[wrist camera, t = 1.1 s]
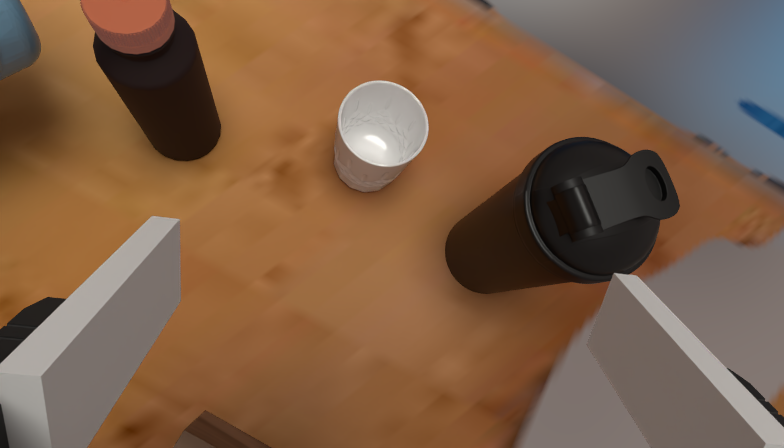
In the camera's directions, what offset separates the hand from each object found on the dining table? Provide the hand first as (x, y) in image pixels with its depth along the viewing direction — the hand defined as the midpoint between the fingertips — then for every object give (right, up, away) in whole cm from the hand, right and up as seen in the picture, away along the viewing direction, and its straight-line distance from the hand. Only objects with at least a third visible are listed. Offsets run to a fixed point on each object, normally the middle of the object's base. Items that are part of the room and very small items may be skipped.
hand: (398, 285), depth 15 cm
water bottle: (+9, -1, +38) cm, 39 cm away
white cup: (-3, +8, +38) cm, 39 cm away
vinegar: (-20, +11, +34) cm, 42 cm away
